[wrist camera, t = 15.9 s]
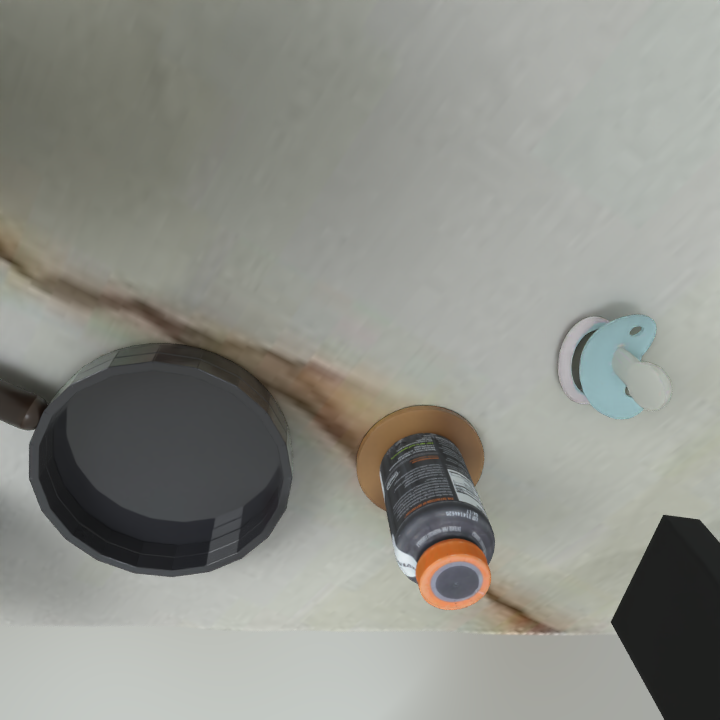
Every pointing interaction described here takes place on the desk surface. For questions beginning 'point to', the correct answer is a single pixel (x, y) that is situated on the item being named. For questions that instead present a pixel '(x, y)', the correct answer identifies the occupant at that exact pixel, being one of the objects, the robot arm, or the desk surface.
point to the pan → (162, 460)
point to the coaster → (409, 424)
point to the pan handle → (20, 406)
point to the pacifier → (614, 367)
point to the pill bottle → (437, 520)
